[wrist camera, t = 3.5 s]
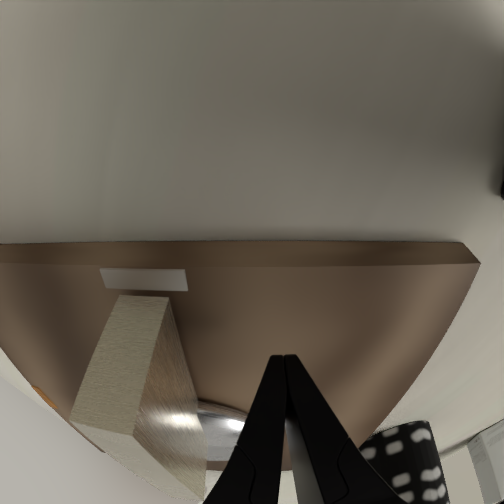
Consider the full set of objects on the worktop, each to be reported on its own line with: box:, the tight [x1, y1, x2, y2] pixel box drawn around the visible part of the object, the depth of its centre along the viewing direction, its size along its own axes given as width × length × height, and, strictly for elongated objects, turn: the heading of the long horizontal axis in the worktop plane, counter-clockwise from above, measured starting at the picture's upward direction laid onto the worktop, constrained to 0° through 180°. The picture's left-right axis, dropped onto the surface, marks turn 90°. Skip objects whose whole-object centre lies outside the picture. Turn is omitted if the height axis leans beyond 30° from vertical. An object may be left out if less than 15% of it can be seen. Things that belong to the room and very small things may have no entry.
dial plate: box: [0, 241, 481, 471], centre depth 16 cm, size 25×25×2 cm
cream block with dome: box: [69, 295, 248, 501], centre depth 12 cm, size 16×9×5 cm, turn 0°
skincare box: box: [467, 419, 504, 504], centre depth 25 cm, size 8×7×16 cm
